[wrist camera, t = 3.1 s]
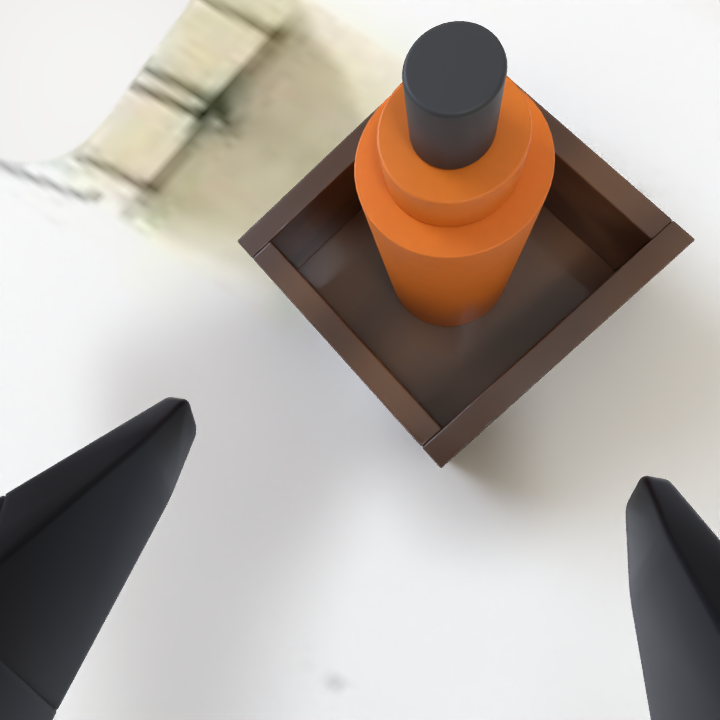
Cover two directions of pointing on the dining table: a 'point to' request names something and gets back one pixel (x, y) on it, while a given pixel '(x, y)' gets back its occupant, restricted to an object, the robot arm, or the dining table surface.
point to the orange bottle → (453, 174)
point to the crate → (495, 328)
